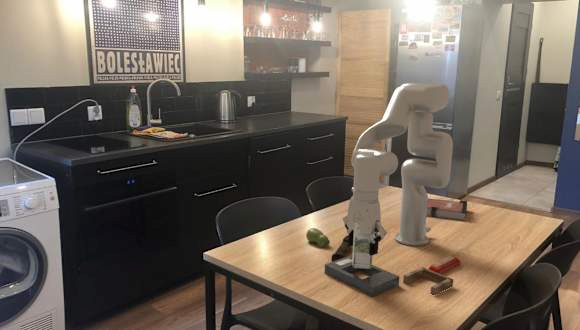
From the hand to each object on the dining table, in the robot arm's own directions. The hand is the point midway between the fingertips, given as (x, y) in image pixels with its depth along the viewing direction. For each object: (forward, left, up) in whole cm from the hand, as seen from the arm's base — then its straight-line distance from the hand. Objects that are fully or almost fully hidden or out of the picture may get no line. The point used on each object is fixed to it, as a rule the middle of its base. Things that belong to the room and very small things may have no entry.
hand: (362, 249), depth 145 cm
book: (-80, -26, -10) cm, 85 cm away
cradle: (-13, +15, -10) cm, 22 cm away
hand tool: (-10, -18, -10) cm, 23 cm away
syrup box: (0, 0, -5) cm, 6 cm away
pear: (-10, -30, -10) cm, 33 cm away
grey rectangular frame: (0, 0, -10) cm, 10 cm away
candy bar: (-28, +11, -10) cm, 32 cm away
